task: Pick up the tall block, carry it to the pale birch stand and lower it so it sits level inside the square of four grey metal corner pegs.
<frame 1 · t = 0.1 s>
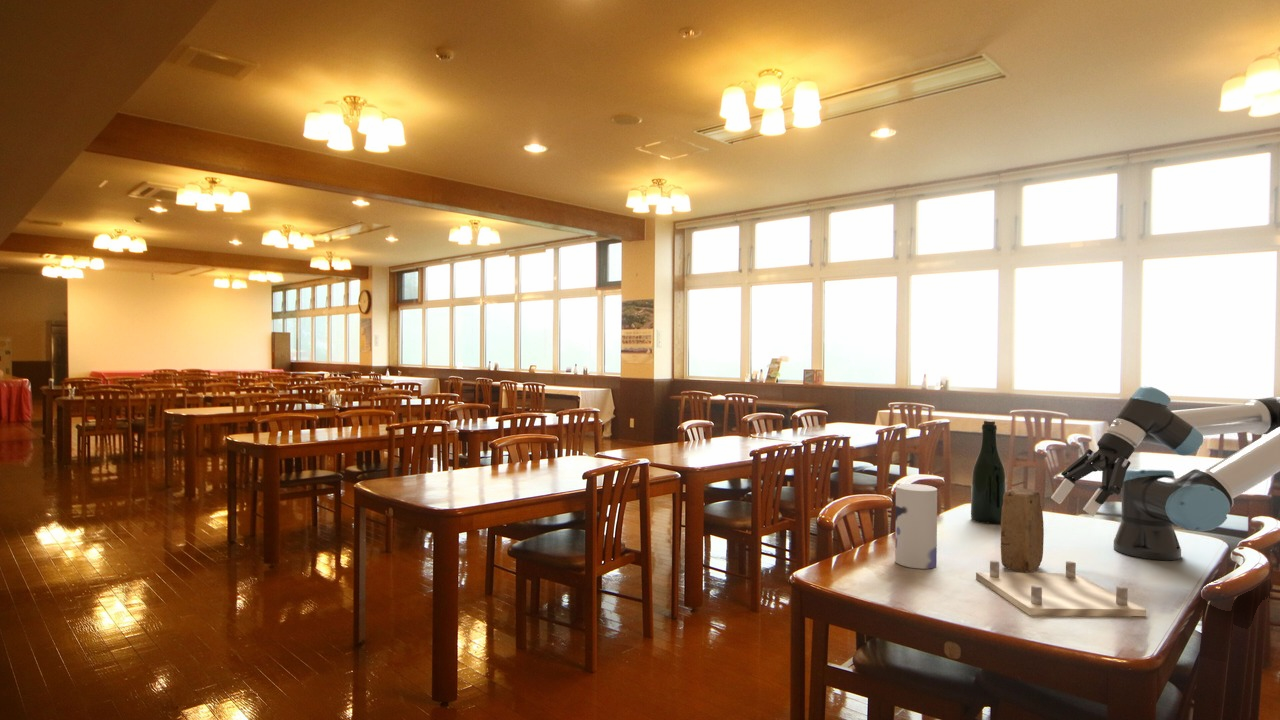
hand: (1070, 506, 180), 15 cm above the table, tool tilted 35°, fingers open, 13 cm apart
peg stand: (1054, 596, 158), on the table
block: (1022, 568, 179), on the table
beer bottle: (988, 521, 229), on the table
container: (915, 564, 182), on the table
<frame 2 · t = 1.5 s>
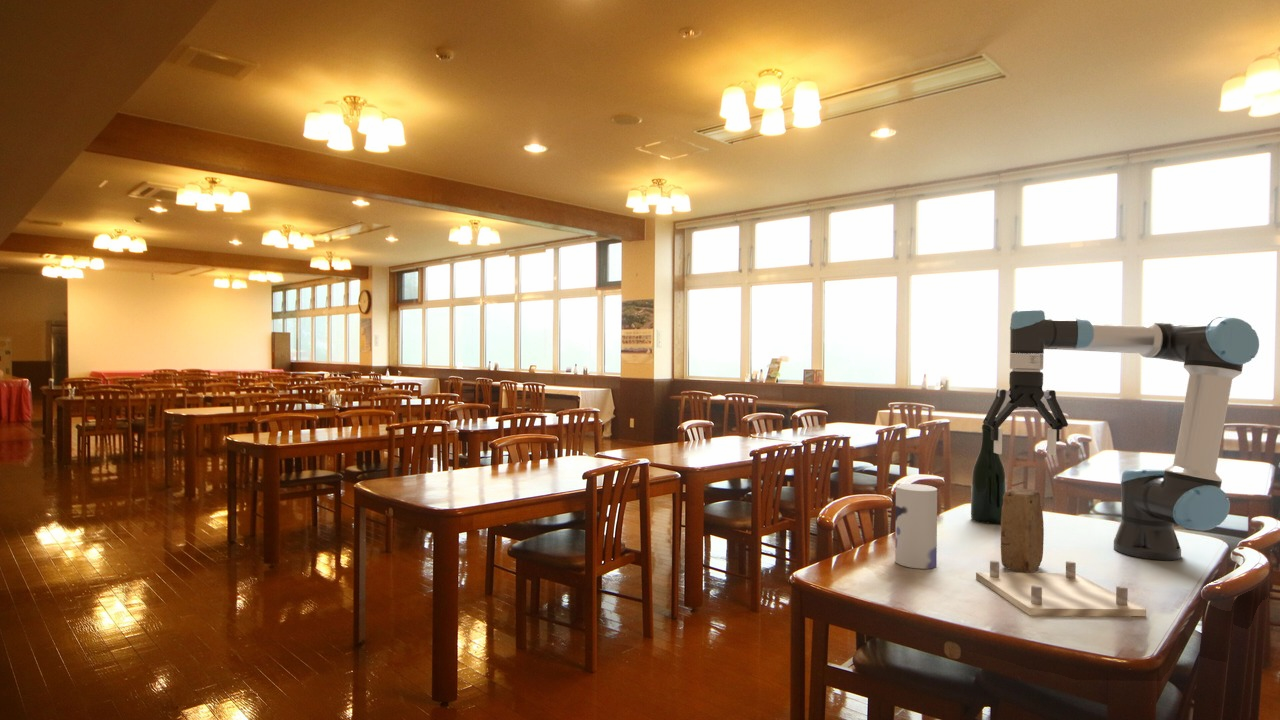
hand: (1024, 454, 178), 29 cm above the table, tool pointing down, fingers open, 13 cm apart
nothing on the table moved.
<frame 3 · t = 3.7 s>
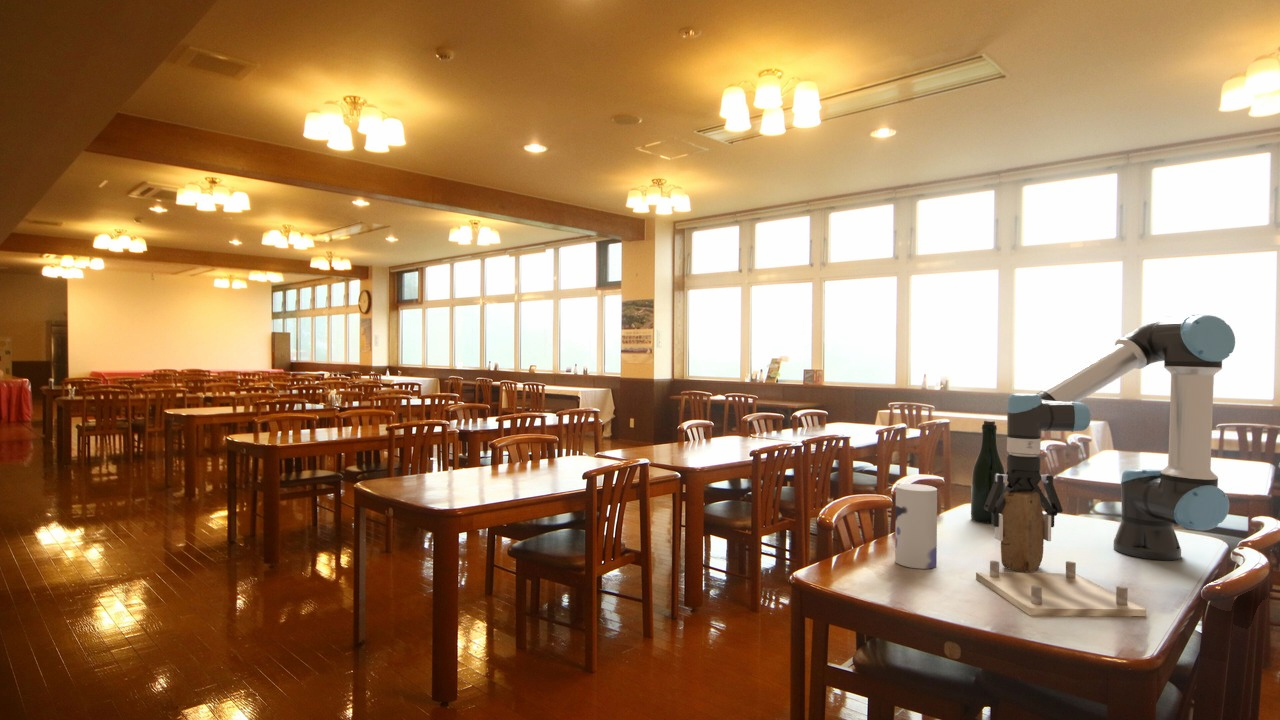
hand: (1022, 539, 178), 7 cm above the table, tool pointing down, fingers closed on block, 11 cm apart
block: (1022, 568, 179), on the table, touching gripper
everything else where it was.
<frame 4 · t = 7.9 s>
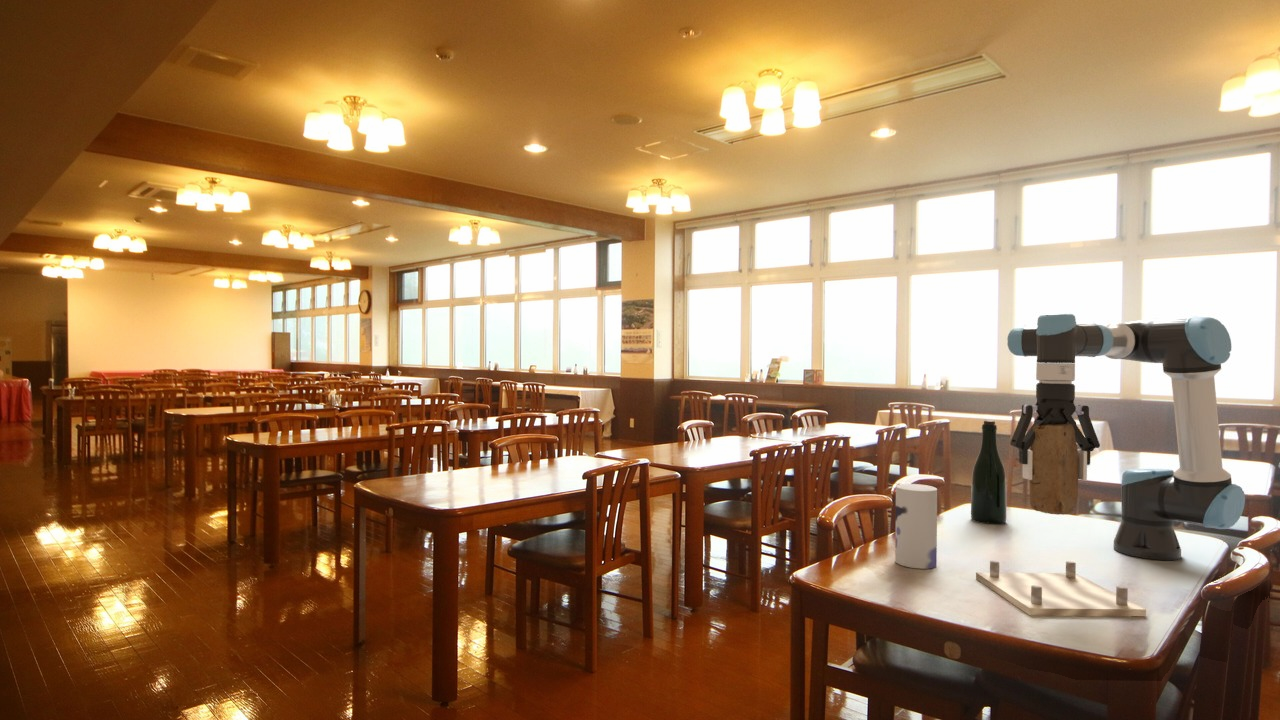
hand: (1054, 479, 158), 26 cm above the table, tool pointing down, fingers closed on block, 11 cm apart
block: (1054, 511, 158), point 19 cm above the table, touching gripper
everything else where it was.
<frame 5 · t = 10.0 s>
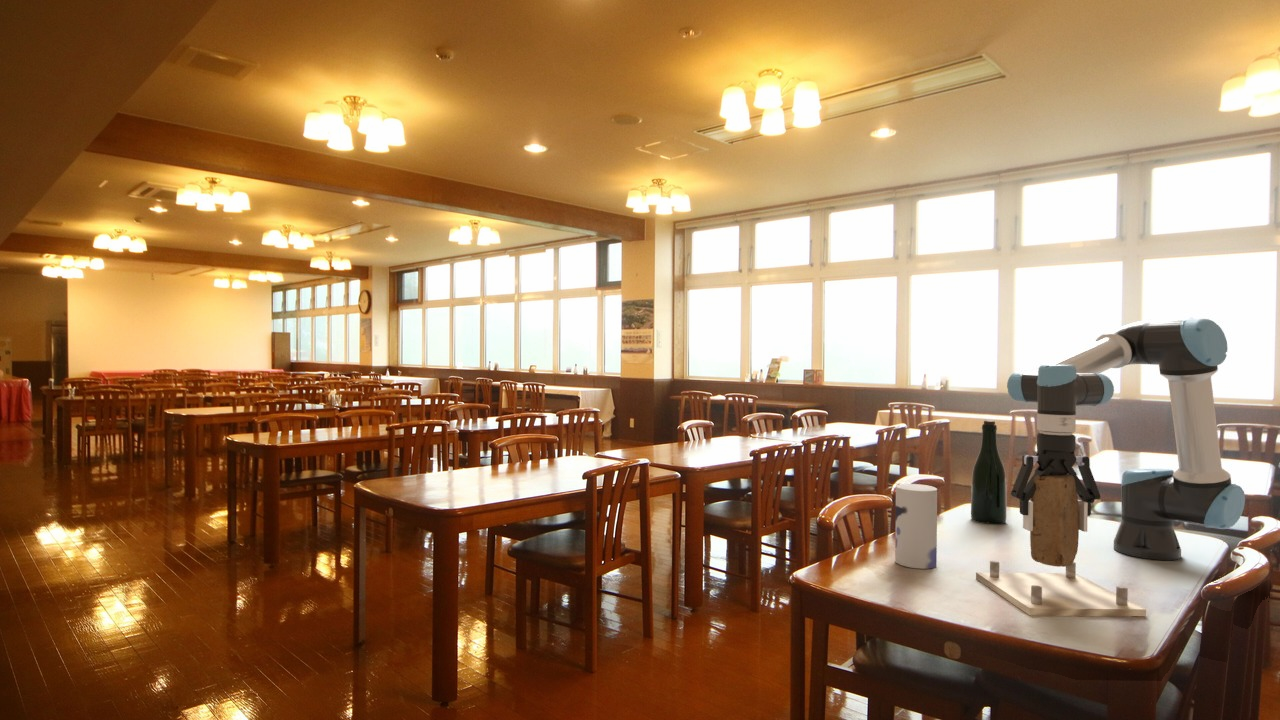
hand: (1054, 529, 157), 15 cm above the table, tool pointing down, fingers closed on block, 11 cm apart
block: (1054, 562, 158), point 8 cm above the table, touching gripper
everything else where it was.
when the fingers open (10 cm above the table, at t = 11.8 s): block stays where it is, resting on peg stand.
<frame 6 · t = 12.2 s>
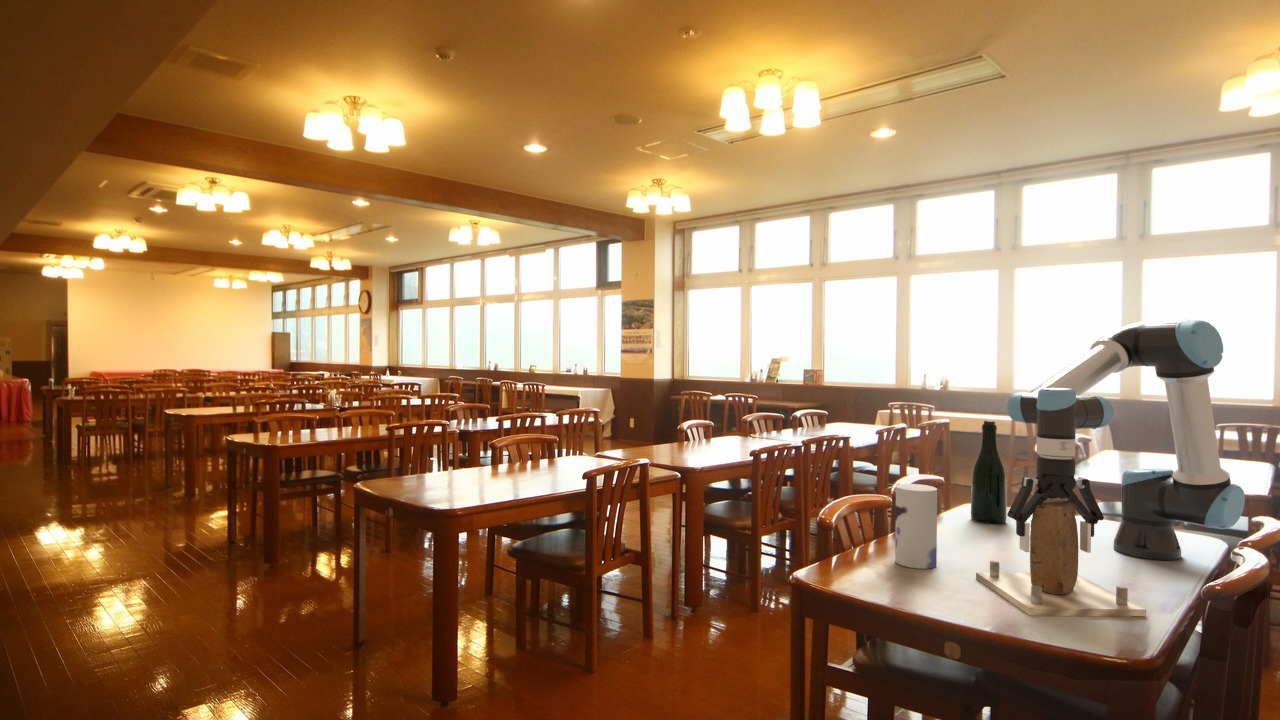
hand: (1054, 551, 158), 10 cm above the table, tool pointing down, fingers open, 13 cm apart
block: (1054, 590, 158), point 1 cm above the table, touching peg stand
everything else where it was.
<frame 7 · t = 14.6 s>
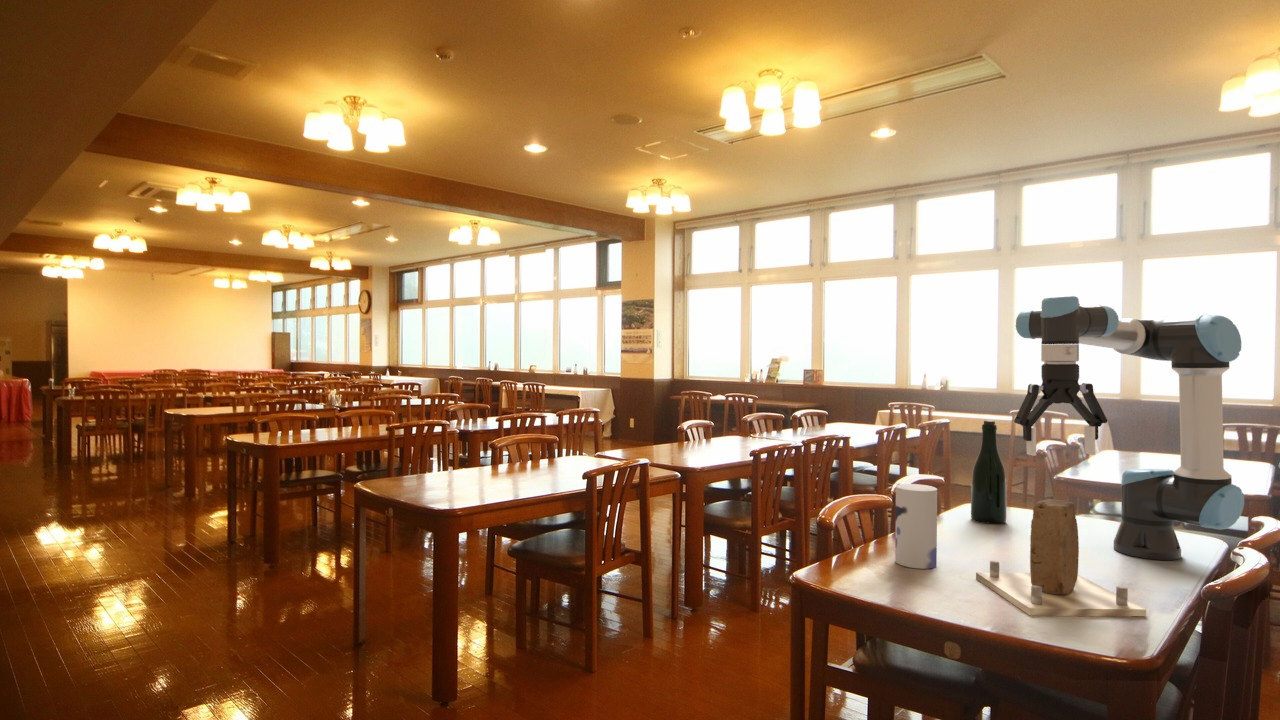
hand: (1060, 454, 162), 31 cm above the table, tool pointing down, fingers open, 13 cm apart
nothing on the table moved.
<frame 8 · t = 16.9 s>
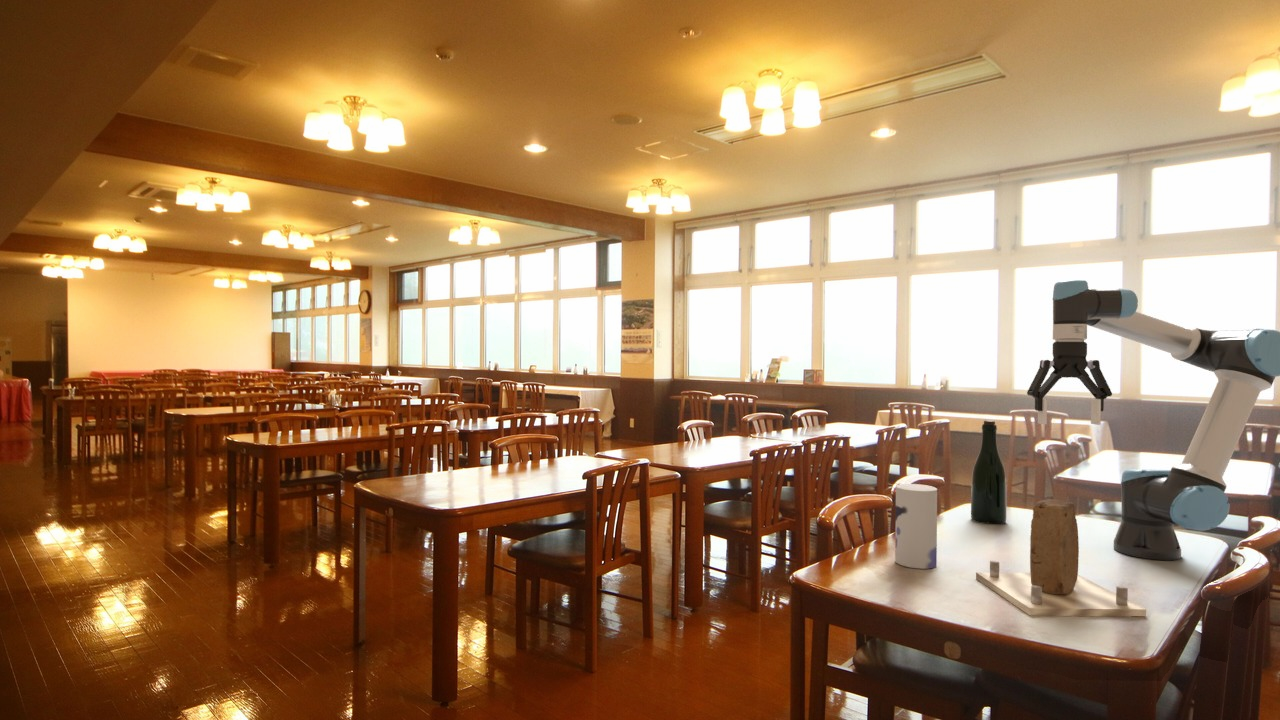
hand: (1068, 424, 179), 37 cm above the table, tool pointing down, fingers open, 13 cm apart
nothing on the table moved.
at the end: block 0.1 cm off-centre on the peg stand, point 1.3 cm above the peg stand's base; block tilted 0°; the gripper is holding nothing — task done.
